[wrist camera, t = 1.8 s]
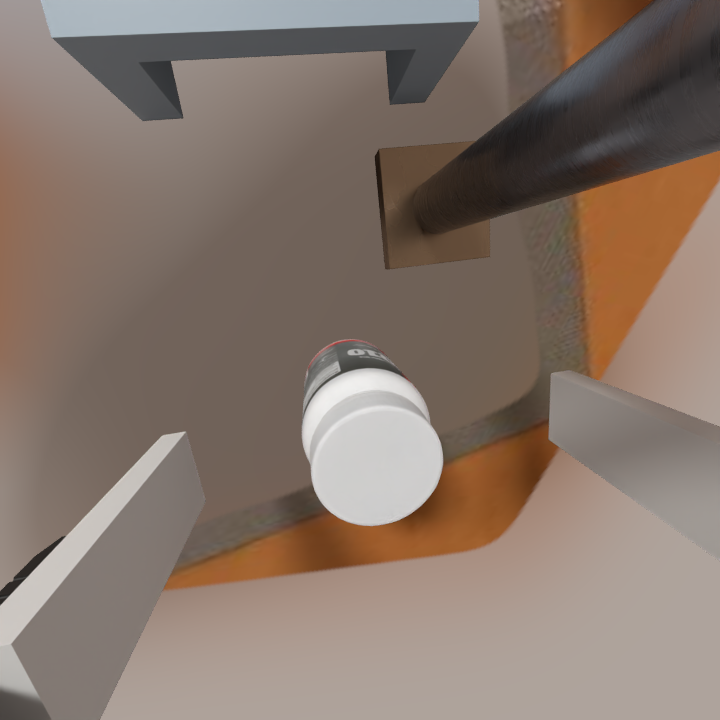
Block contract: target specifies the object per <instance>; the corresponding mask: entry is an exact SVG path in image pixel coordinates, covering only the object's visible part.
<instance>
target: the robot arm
mask: <svg viewBox="0 0 720 720" xmlns="http://www.w3.org/2000/svg"><path fill="white" fill-rule="evenodd" d="M549 440H550V441H551V442H553V443H554V444H556V445H557V446H558V447H560V448H561V449H563V450H564V451H565V452H567V453H568V454H570V455H571V456H572V457H574V458H575V459H577V460H578V461H579V462H581V463H582V464H584V465H585V466H586V467H588V468H589V469H591V470H592V471H593V472H595V473H596V474H598V475H599V476H601V477H602V478H603V479H605V480H606V481H608V482H609V483H611V484H612V485H613V486H615V487H616V488H617V489H619V490H620V491H622V492H623V493H625V494H626V495H627V496H629V497H630V498H631V499H633V500H634V501H636V502H637V503H639V504H640V505H641V506H643V507H644V508H646V509H647V510H648V511H650V512H651V513H653V514H654V515H655V516H657V517H658V518H660V519H661V520H663V521H664V522H665V523H667V524H668V525H670V526H671V527H672V528H674V529H675V530H676V531H678V532H679V533H681V534H682V535H684V536H685V537H687V538H688V539H689V540H691V541H692V542H693V543H695V544H696V545H698V546H699V547H700V548H702V549H703V550H705V551H706V552H707V553H709V554H710V555H712V556H713V557H715V558H716V559H717V560H719V561H720V427H719V426H717V425H714V424H711V423H708V422H706V421H703V420H700V419H698V418H695V417H693V416H690V415H687V414H685V413H682V412H679V411H677V410H674V409H672V408H669V407H666V406H664V405H661V404H658V403H656V402H653V401H650V400H648V399H645V398H642V397H640V396H637V395H634V394H632V393H629V392H627V391H624V390H621V389H619V388H616V387H613V386H611V385H608V384H605V383H603V382H600V381H597V380H595V379H592V378H589V377H587V376H584V375H582V374H579V373H576V372H574V371H571V370H568V371H562V372H556V373H551V388H550V415H549ZM205 502H206V500H205V497H204V493H203V490H202V486H201V483H200V479H199V475H198V472H197V468H196V465H195V461H194V458H193V454H192V451H191V447H190V443H189V440H188V437H187V433H186V432H181V433H175V434H169V435H163V436H162V437H161V438H159V440H158V441H157V442H156V443H155V444H154V445H153V446H152V447H151V448H150V449H149V450H148V451H147V452H146V453H145V454H144V455H143V456H142V457H141V458H140V460H139V461H138V462H137V463H136V464H135V465H134V466H133V467H132V468H131V469H130V470H129V471H128V472H127V473H126V474H125V475H124V476H123V477H122V479H120V480H119V482H118V483H117V484H116V485H115V486H114V487H113V488H112V489H111V490H110V491H109V492H108V493H107V494H106V495H105V496H104V497H103V498H102V499H101V500H100V501H99V502H98V504H97V505H96V506H95V507H94V508H93V509H92V510H91V511H90V512H89V513H88V514H87V515H86V516H85V517H84V518H83V519H82V520H81V521H80V522H79V524H78V525H77V526H76V527H75V528H74V529H73V530H72V531H71V532H70V533H69V534H68V535H67V536H64V537H61V538H60V539H58V540H57V541H55V542H54V543H53V544H51V545H50V546H49V547H47V548H46V549H44V550H43V551H42V552H40V553H39V554H37V555H36V556H35V557H34V558H33V559H32V560H31V561H30V562H29V563H28V564H27V565H26V566H25V567H24V568H23V569H22V570H21V571H20V572H19V573H18V574H17V575H16V576H15V577H14V580H13V582H9V583H8V584H7V585H6V586H5V587H4V588H3V589H2V590H1V591H0V720H100V718H101V716H102V714H103V712H104V710H105V708H106V706H107V704H108V702H109V700H110V698H111V696H112V694H113V691H114V689H115V687H116V685H117V683H118V681H119V679H120V677H121V675H122V673H123V671H124V669H125V667H126V665H127V662H128V661H129V658H130V656H131V654H132V652H133V650H134V648H135V646H136V644H137V642H138V640H139V638H140V636H141V633H142V632H143V630H144V627H145V625H146V623H147V621H148V619H149V617H150V615H151V613H152V611H153V609H154V607H155V605H156V603H157V601H158V599H159V597H160V595H161V593H162V591H163V588H164V586H165V584H166V582H167V580H168V578H169V576H170V574H171V572H172V570H173V568H174V566H175V564H176V562H177V560H178V558H179V555H180V553H181V551H182V549H183V547H184V545H185V543H186V541H187V539H188V537H189V535H190V533H191V531H192V529H193V527H194V525H195V523H196V520H197V518H198V516H199V514H200V512H201V510H202V508H203V506H204V504H205Z"/></svg>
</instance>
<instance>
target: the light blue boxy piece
mask: <svg viewBox="0 0 720 720" xmlns="http://www.w3.org/2000/svg"><path fill="white" fill-rule="evenodd" d="M41 4H42V7H43V10H44V14H45V17H46V20H47V24H48V27H49V30H50V34H51V37H52V38H53V39H54V40H55V41H56V42H57V43H58V44H59V45H60V46H61V47H63V48H64V49H65V50H66V51H67V52H68V53H69V54H70V55H71V56H72V57H74V58H75V59H76V60H77V61H78V62H79V63H80V64H81V65H82V66H83V67H84V68H85V69H87V70H88V71H89V72H90V73H91V74H92V75H93V76H94V77H95V78H96V79H98V80H99V81H100V82H101V83H102V84H103V85H104V86H105V87H106V88H107V89H108V90H110V91H111V92H112V93H113V94H114V95H115V96H116V97H117V98H118V99H119V100H120V101H121V102H123V103H124V104H125V105H126V106H127V107H128V108H129V109H130V110H131V111H132V112H133V113H135V114H136V115H137V116H138V117H139V118H140V119H141V120H142V121H147V120H162V119H178V118H183V114H182V110H181V105H180V101H179V96H178V92H177V88H176V83H175V79H174V75H173V70H172V65H171V61H175V60H196V59H218V58H238V57H260V56H281V55H303V54H324V53H345V52H363V51H364V52H365V51H386V60H387V61H386V62H387V74H388V87H389V100H390V105H391V104H406V103H420V102H425V101H426V99H427V98H428V96H429V95H430V93H431V92H432V90H433V89H434V87H435V86H436V84H437V83H438V81H439V80H440V79H441V77H442V76H443V74H444V73H445V71H446V70H447V68H448V66H449V65H450V64H451V62H452V61H453V59H454V58H455V56H456V55H457V53H458V52H459V50H460V49H461V47H462V46H463V44H464V43H465V41H466V40H467V39H468V37H469V36H470V34H471V33H472V31H473V30H474V28H475V27H476V25H477V24H478V22H479V0H41Z"/></svg>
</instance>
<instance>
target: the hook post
mask: <svg viewBox="0 0 720 720" xmlns="http://www.w3.org/2000/svg"><path fill="white" fill-rule="evenodd" d="M719 150H720V0H653V1H652V2H651V3H650V4H648V5H647V6H646V7H645V8H643V9H642V10H641V11H640V12H638V13H637V14H636V15H635V16H633V17H632V18H631V19H630V20H628V21H627V22H626V23H624V24H623V25H622V26H621V27H619V28H618V29H617V30H616V31H614V32H613V33H612V34H611V35H609V36H608V37H607V38H606V39H604V40H603V41H602V42H600V43H599V44H598V45H597V46H595V47H594V48H593V49H592V50H590V51H589V52H588V53H587V54H585V55H584V56H583V57H582V58H580V59H579V60H578V61H577V62H575V63H574V64H573V65H571V66H570V67H569V68H568V69H566V70H565V71H564V72H563V73H561V74H560V75H559V76H558V77H556V78H555V79H554V80H553V81H551V82H550V83H549V84H547V85H546V86H545V87H544V88H542V89H541V90H540V91H539V92H537V93H536V94H535V95H534V96H532V97H531V98H530V99H529V100H527V101H526V102H525V103H524V104H522V105H521V106H520V107H518V108H517V109H516V110H515V111H513V112H512V113H511V114H510V115H508V116H507V117H506V118H505V119H503V120H502V121H501V122H500V123H499V124H497V125H496V126H494V127H493V128H492V129H491V130H490V131H488V132H487V133H486V134H484V135H483V136H482V137H481V138H479V139H478V140H477V141H471V142H459V143H446V144H434V145H421V146H408V147H397V148H384V149H379V150H378V152H377V154H376V155H375V165H376V176H377V187H378V197H379V208H380V218H381V229H382V240H383V251H384V262H385V269H395V268H402V267H410V266H419V265H427V264H435V263H444V262H451V261H460V260H467V259H476V258H484V257H490V219H492V218H496V217H499V216H502V215H506V214H509V213H512V212H516V211H519V210H522V209H526V208H529V207H532V206H536V205H539V204H543V203H546V202H549V201H553V200H556V199H559V198H563V197H566V196H569V195H573V194H576V193H579V192H583V191H586V190H589V189H593V188H596V187H599V186H603V185H606V184H609V183H613V182H616V181H619V180H623V179H626V178H629V177H633V176H636V175H639V174H643V173H646V172H649V171H653V170H656V169H659V168H663V167H666V166H669V165H673V164H676V163H679V162H683V161H686V160H689V159H693V158H696V157H699V156H703V155H706V154H709V153H713V152H716V151H719Z"/></svg>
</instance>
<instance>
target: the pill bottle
mask: <svg viewBox="0 0 720 720" xmlns="http://www.w3.org/2000/svg"><path fill="white" fill-rule="evenodd" d="M303 405H304V406H303V420H302V441H303V447H304V450H305V453H306V456H307V458H308V460H309V462H310V465H311V477H312V483H313V486H314V490H315V492H316V494H317V496H318V498H319V500H320V501H321V503H322V504H323V505H324V506H325V507H326V508H327V509H328V510H329V511H330V512H331V513H332V514H334V515H335V516H337V517H338V518H340V519H342V520H344V521H347V522H349V523H353V524H357V525H365V526H375V525H384V524H388V523H392V522H395V521H398V520H400V519H402V518H404V517H406V516H408V515H410V514H411V513H412V512H414V511H415V510H417V509H418V508H419V507H420V506H421V505H422V504H423V503H424V502H425V501H426V500H427V499H428V498H429V497H430V495H431V494H432V492H433V491H434V489H435V488H436V486H437V484H438V481H439V478H440V475H441V472H442V467H443V452H442V447H441V443H440V440H439V438H438V435H437V433H436V432H435V430H434V429H433V427H432V426H431V424H430V416H429V412H428V409H427V406H426V404H425V401H424V399H423V398H422V396H421V395H420V393H419V392H418V390H417V389H416V387H415V386H414V385H413V384H412V383H411V382H410V381H409V380H408V379H407V378H406V377H405V376H404V375H403V373H402V372H401V371H400V370H399V369H398V368H397V367H396V366H395V365H394V364H393V362H392V361H391V360H390V359H389V358H388V357H387V356H386V355H385V354H384V353H383V352H382V351H381V350H380V349H379V348H377V347H376V346H374V345H373V344H371V343H368V342H366V341H362V340H356V339H346V340H341V341H337V342H334V343H332V344H330V345H328V346H327V347H325V348H324V349H322V350H321V351H320V352H319V353H318V354H317V355H316V356H315V357H314V358H313V360H312V361H311V363H310V365H309V367H308V370H307V373H306V377H305V387H304V404H303Z"/></svg>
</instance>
